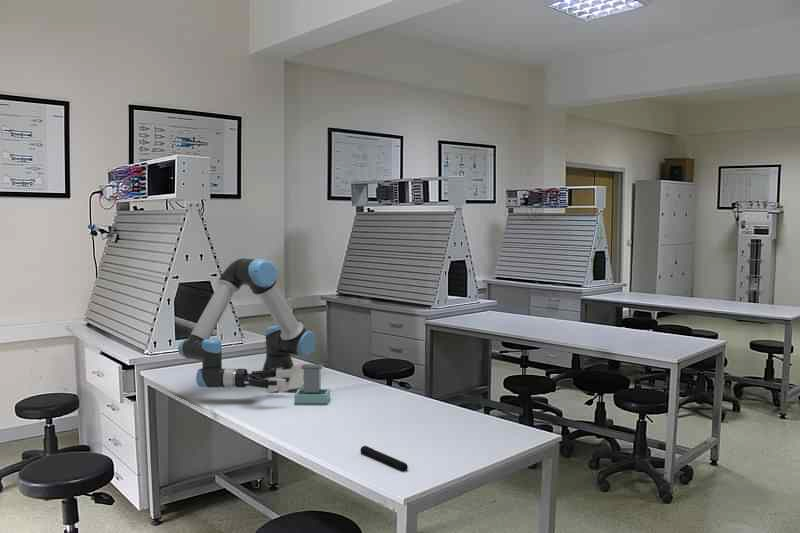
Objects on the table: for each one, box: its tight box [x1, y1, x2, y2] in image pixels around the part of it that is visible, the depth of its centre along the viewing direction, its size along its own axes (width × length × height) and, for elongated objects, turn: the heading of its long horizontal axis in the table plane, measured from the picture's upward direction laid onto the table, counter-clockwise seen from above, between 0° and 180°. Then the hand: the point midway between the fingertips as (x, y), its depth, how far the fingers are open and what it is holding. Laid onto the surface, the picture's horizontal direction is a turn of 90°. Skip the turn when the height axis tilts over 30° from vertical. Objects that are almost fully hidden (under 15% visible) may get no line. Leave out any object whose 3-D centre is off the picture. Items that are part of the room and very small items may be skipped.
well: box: [293, 388, 331, 406], centre depth 247 cm, size 9×13×4 cm
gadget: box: [360, 445, 409, 472], centre depth 185 cm, size 2×2×20 cm
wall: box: [265, 364, 304, 393], centre depth 268 cm, size 16×9×15 cm
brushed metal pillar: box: [301, 363, 324, 394], centre depth 246 cm, size 4×8×14 cm, turn 89°
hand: (288, 378), depth 246 cm, fingers open, 13 cm apart
